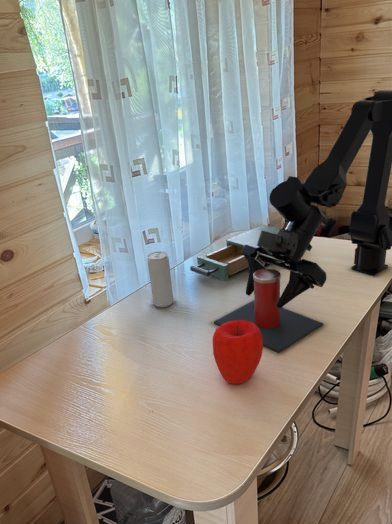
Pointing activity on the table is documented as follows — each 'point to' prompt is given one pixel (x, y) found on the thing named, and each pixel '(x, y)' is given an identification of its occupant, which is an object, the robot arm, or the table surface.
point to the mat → (281, 335)
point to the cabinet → (251, 236)
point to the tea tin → (267, 297)
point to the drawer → (221, 262)
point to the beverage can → (160, 278)
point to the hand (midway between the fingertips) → (262, 300)
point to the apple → (237, 350)
